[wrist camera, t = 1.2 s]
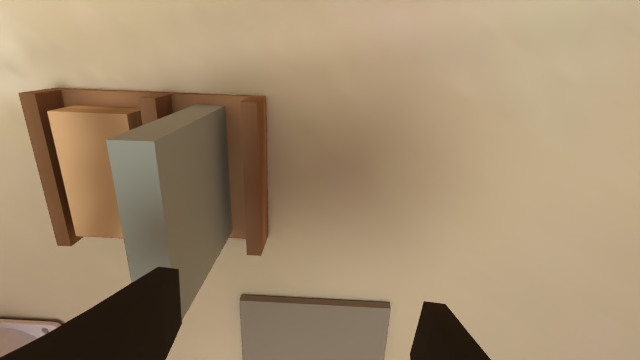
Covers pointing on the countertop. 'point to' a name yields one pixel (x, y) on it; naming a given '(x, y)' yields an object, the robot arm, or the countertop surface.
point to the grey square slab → (174, 194)
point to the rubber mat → (312, 328)
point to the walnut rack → (240, 122)
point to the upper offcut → (90, 166)
